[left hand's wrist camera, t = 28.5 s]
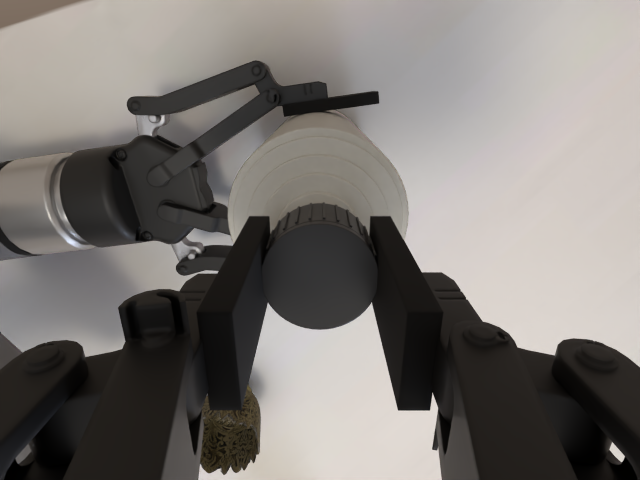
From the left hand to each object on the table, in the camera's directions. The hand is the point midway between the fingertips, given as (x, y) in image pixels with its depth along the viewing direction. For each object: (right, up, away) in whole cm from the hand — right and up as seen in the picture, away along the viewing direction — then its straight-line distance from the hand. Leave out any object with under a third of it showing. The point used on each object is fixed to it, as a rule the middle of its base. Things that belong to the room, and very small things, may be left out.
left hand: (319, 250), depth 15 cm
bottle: (0, +8, +20) cm, 22 cm away
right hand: (+4, +6, +14) cm, 16 cm away
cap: (0, -1, -2) cm, 2 cm away
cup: (-10, -17, +30) cm, 36 cm away
